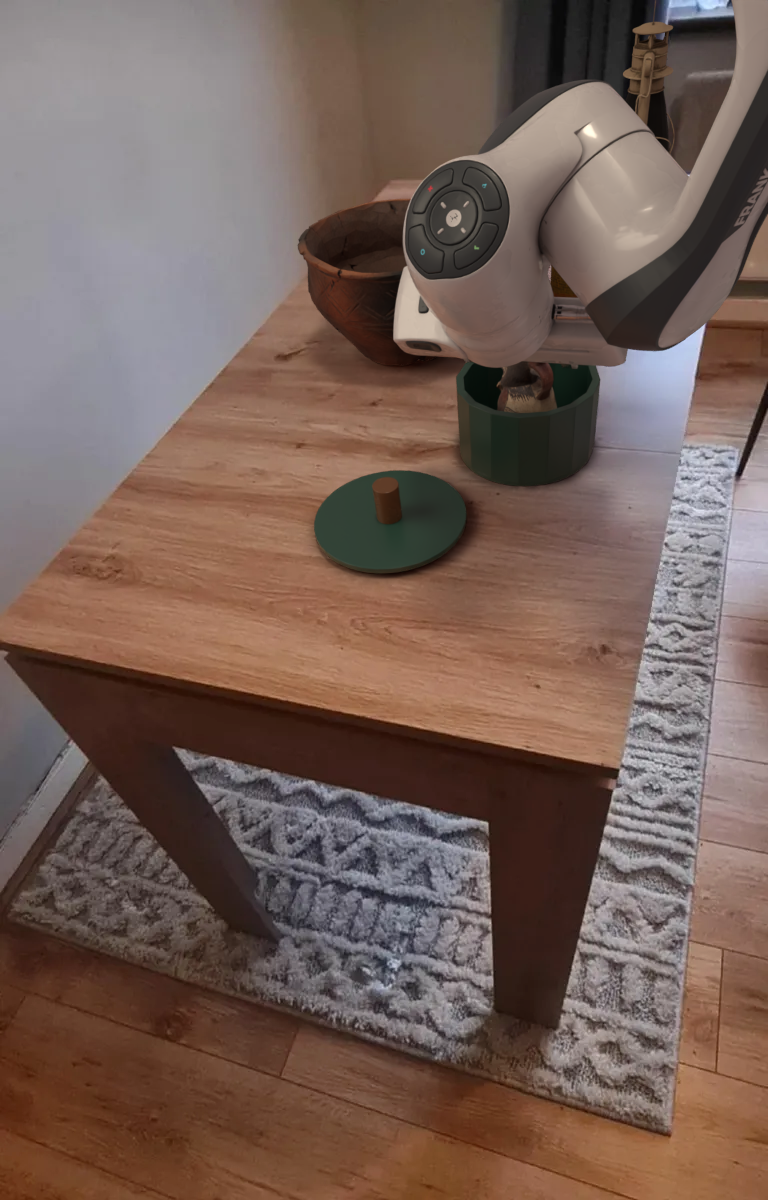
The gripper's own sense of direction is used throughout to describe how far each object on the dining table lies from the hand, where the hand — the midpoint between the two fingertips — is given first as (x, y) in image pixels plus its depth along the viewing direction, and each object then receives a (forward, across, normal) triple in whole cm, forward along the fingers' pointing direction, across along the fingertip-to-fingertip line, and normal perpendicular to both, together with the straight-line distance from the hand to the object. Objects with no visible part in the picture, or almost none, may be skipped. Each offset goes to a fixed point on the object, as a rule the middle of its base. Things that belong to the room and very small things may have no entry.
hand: (522, 357), depth 77 cm
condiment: (+34, 0, -15) cm, 37 cm away
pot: (+12, 0, +6) cm, 14 cm away
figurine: (+12, 0, +6) cm, 13 cm away
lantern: (+54, -4, -36) cm, 65 cm away
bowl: (+27, +21, -8) cm, 35 cm away
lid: (0, +11, +17) cm, 21 cm away
